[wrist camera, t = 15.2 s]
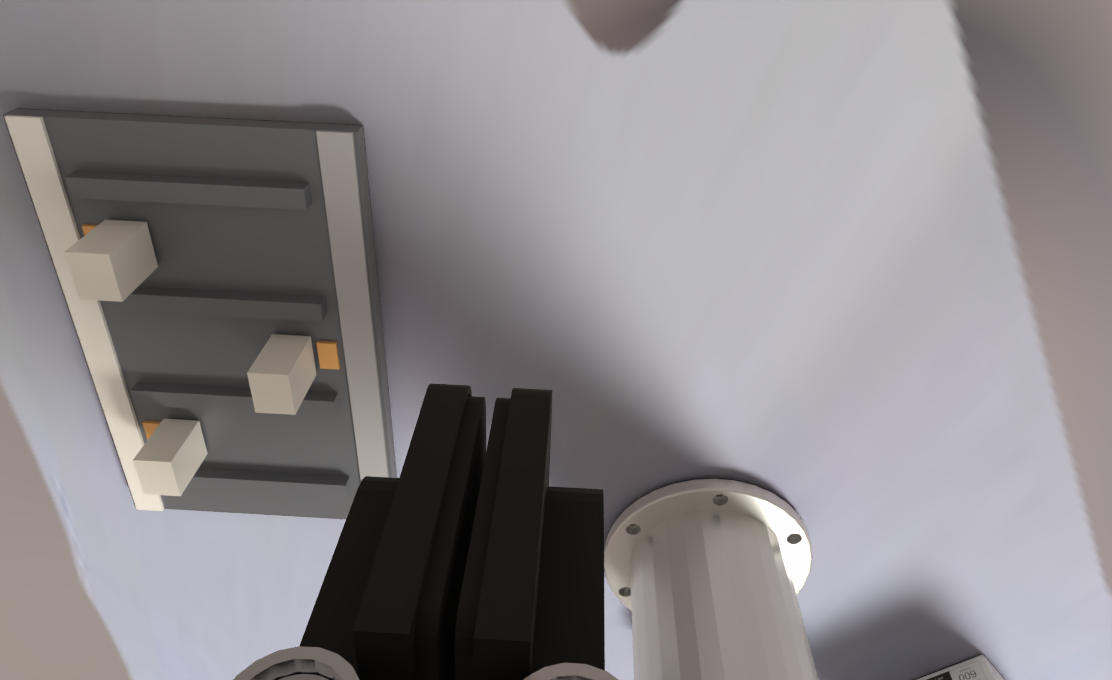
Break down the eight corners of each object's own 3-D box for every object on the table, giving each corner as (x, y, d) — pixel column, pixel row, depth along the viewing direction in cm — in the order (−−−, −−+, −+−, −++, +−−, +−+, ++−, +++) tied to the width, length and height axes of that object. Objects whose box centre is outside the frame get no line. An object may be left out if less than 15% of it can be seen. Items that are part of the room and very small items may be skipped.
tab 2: (207, 453, 46) (180, 496, 43) (173, 451, 46) (143, 494, 43) (199, 420, 45) (170, 462, 42) (163, 418, 45) (132, 460, 42)
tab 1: (158, 266, 39) (122, 301, 36) (118, 264, 39) (79, 299, 37) (146, 221, 38) (108, 254, 35) (105, 219, 38) (63, 252, 35)
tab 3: (316, 374, 42) (295, 414, 40) (279, 372, 43) (255, 412, 40) (310, 336, 41) (288, 374, 38) (272, 334, 41) (247, 372, 38)
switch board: (400, 510, 49) (393, 531, 48) (143, 495, 50) (128, 516, 48) (363, 125, 36) (352, 138, 35) (16, 108, 37) (-9, 120, 35)
